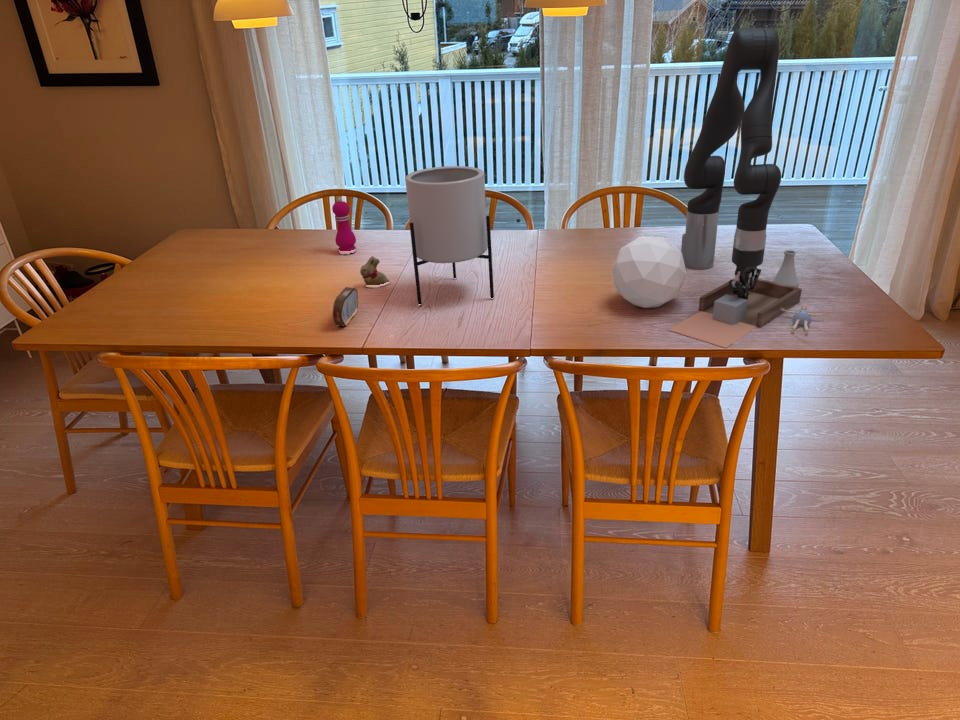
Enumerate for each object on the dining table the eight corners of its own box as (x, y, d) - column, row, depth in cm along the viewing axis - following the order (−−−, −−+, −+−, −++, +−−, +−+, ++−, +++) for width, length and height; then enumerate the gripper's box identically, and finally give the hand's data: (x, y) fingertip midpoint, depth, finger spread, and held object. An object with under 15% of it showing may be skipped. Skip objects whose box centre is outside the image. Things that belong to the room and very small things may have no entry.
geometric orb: (665, 328, 193) (707, 285, 177) (601, 312, 187) (639, 267, 172) (656, 276, 203) (696, 231, 188) (596, 259, 198) (631, 212, 182)
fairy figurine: (776, 320, 170) (781, 297, 179) (773, 336, 173) (778, 313, 182) (827, 326, 165) (830, 302, 174) (824, 343, 168) (827, 319, 177)
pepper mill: (341, 249, 252) (332, 194, 243) (360, 249, 251) (352, 194, 242) (334, 255, 246) (325, 200, 237) (354, 255, 245) (346, 199, 236)
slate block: (712, 318, 180) (714, 301, 178) (724, 311, 184) (726, 294, 181) (733, 325, 176) (736, 306, 174) (745, 317, 180) (747, 299, 177)
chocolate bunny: (367, 282, 220) (363, 252, 215) (391, 282, 218) (387, 252, 214) (361, 288, 215) (357, 257, 211) (385, 289, 214) (381, 258, 209)
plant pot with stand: (441, 276, 220) (431, 163, 204) (510, 285, 210) (505, 166, 194) (402, 304, 202) (387, 182, 185) (475, 315, 192) (466, 186, 175)
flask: (801, 289, 194) (806, 256, 190) (773, 289, 196) (778, 255, 191) (796, 280, 201) (801, 247, 196) (769, 280, 202) (774, 247, 198)
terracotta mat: (668, 330, 176) (668, 329, 176) (700, 311, 185) (701, 310, 185) (725, 348, 165) (726, 347, 165) (757, 327, 174) (757, 326, 174)
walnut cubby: (698, 310, 186) (699, 297, 184) (739, 287, 198) (741, 274, 196) (760, 328, 174) (762, 313, 172) (799, 302, 187) (801, 288, 185)
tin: (351, 309, 201) (347, 282, 197) (361, 309, 200) (357, 282, 196) (334, 331, 187) (329, 302, 184) (345, 331, 187) (340, 302, 183)
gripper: (747, 235, 181) (740, 296, 189) (722, 248, 173) (715, 312, 181) (775, 240, 176) (766, 303, 184) (750, 254, 168) (742, 319, 176)
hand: (741, 307), depth 182 cm, fingers closed
